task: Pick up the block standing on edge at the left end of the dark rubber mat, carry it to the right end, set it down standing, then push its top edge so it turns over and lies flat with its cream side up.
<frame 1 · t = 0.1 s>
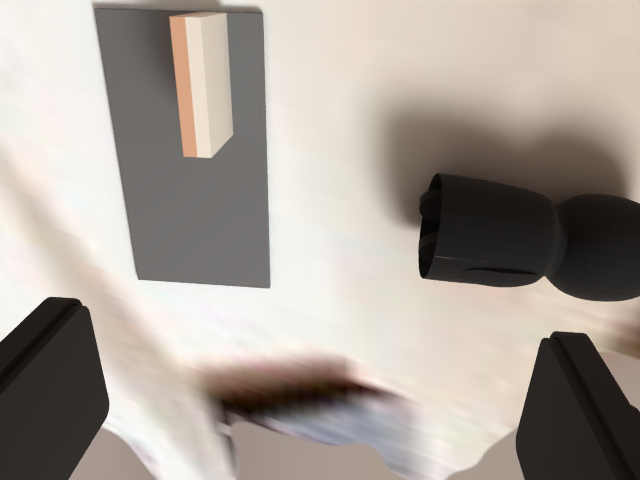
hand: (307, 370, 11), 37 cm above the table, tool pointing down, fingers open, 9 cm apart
mat: (193, 162, 48), on the table
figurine: (522, 218, 48), on the table
block: (217, 76, 44), resting on mat
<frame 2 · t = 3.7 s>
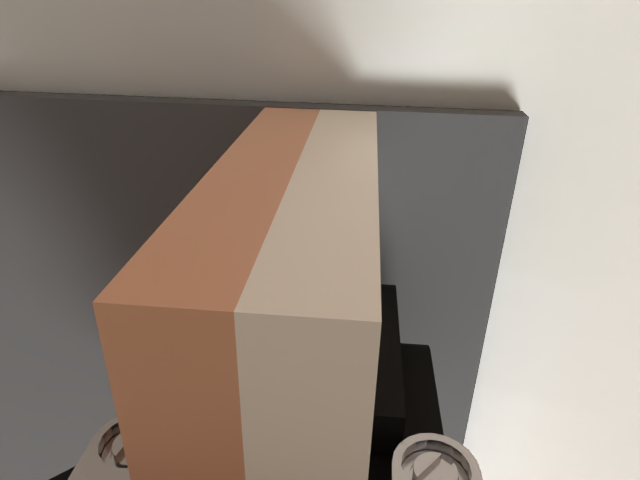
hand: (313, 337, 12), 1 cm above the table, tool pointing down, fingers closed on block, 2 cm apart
block: (316, 319, 12), point 1 cm above the table, touching gripper, mat
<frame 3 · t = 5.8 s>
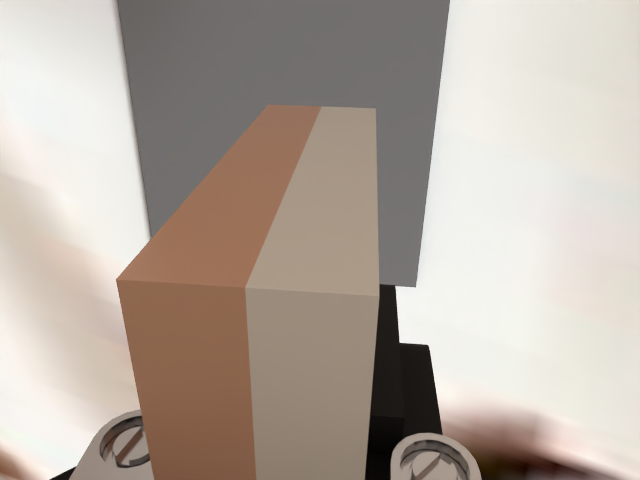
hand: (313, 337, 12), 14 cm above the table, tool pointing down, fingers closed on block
mat: (281, 12, 22), on the table
block: (318, 310, 13), point 13 cm above the table, touching gripper
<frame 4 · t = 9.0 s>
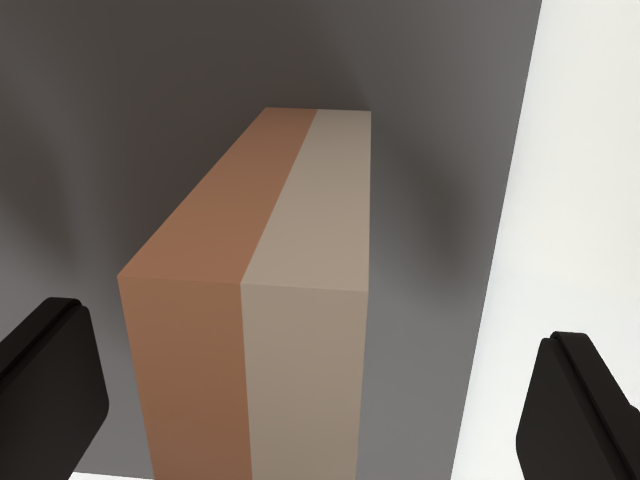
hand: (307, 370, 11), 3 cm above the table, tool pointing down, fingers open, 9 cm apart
mat: (184, 46, 11), on the table
block: (315, 309, 13), resting on mat
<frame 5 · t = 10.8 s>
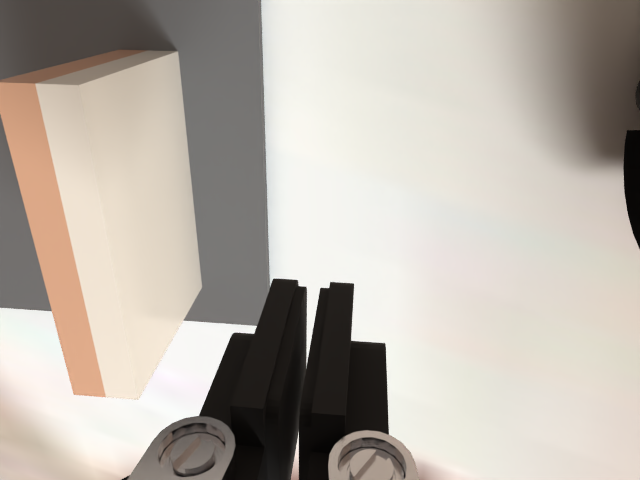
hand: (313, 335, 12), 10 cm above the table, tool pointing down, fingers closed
mat: (72, 14, 19), on the table
block: (164, 180, 21), resting on mat
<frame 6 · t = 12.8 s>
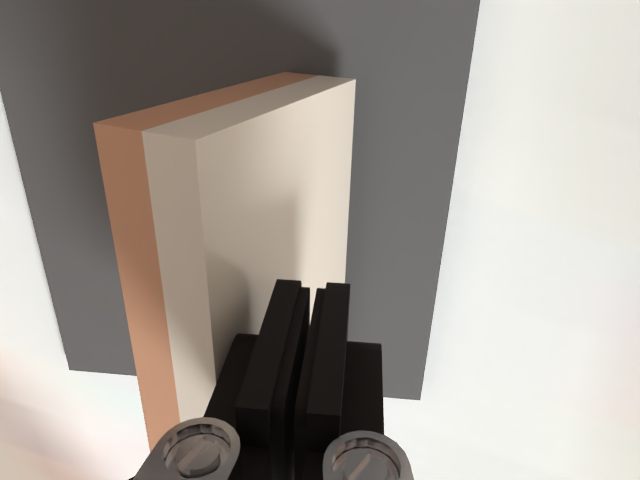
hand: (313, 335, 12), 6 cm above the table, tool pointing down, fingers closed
mat: (224, 26, 15), on the table
block: (315, 236, 17), point 1 cm above the table, tilted 20°, touching mat
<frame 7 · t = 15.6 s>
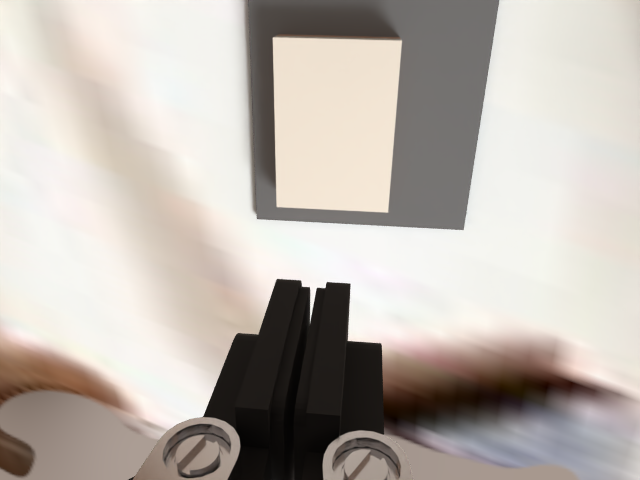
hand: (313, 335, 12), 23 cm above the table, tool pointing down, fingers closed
mat: (370, 15, 29), on the table
block: (393, 128, 31), point 2 cm above the table, tilted 90°, touching mat
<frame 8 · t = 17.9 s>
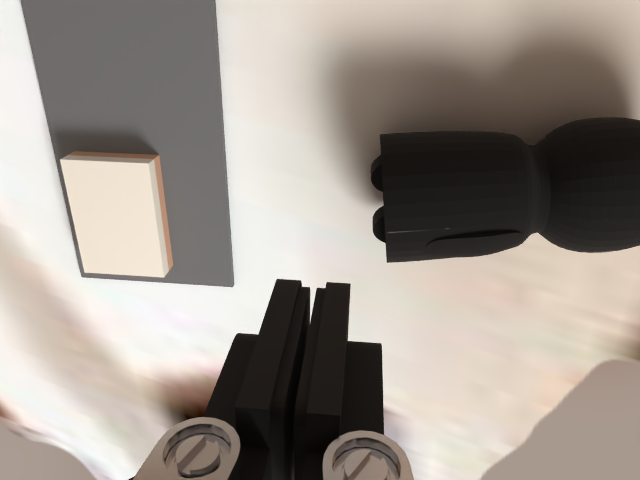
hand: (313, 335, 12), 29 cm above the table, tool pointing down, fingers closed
mat: (138, 138, 41), on the table
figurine: (501, 169, 40), on the table
block: (161, 218, 42), point 2 cm above the table, tilted 90°, touching mat
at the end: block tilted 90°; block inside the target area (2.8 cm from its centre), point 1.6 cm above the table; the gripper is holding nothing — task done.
